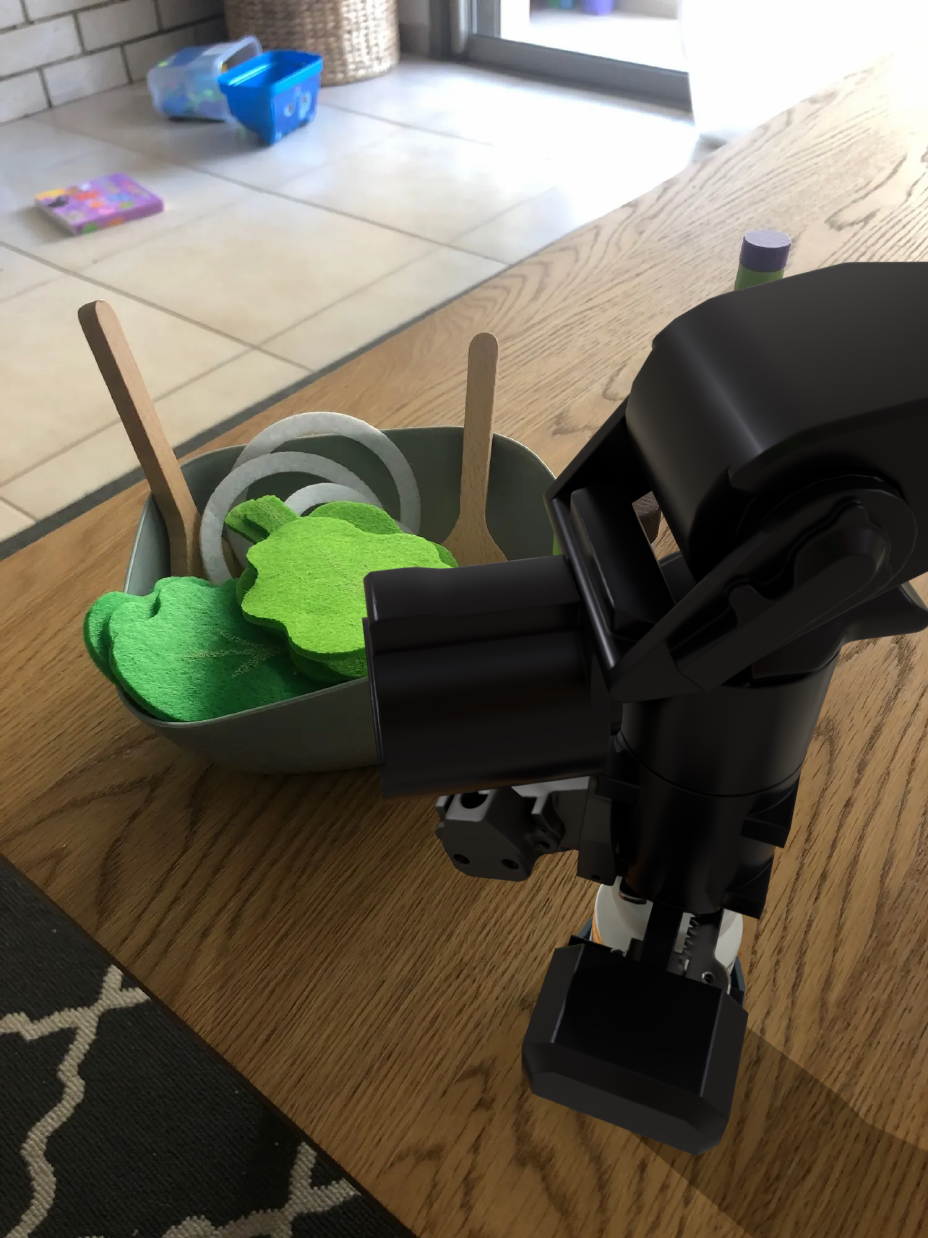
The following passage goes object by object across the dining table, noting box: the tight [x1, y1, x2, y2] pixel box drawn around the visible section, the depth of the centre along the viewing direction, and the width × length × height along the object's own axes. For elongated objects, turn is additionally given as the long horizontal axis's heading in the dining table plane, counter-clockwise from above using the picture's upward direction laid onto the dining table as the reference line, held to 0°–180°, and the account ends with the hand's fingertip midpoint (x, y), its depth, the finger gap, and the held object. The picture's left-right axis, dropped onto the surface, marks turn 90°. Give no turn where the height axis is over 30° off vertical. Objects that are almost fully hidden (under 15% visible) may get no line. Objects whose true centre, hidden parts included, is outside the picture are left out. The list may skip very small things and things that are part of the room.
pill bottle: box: [590, 876, 744, 974], centre depth 40 cm, size 6×6×10 cm
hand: (658, 966), depth 41 cm, fingers closed on pill bottle, 6 cm apart
